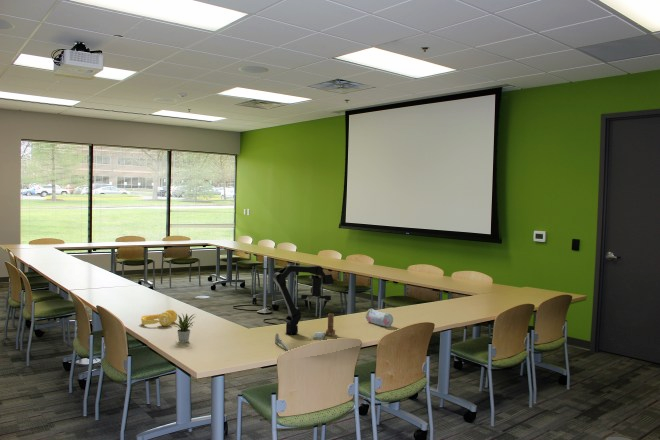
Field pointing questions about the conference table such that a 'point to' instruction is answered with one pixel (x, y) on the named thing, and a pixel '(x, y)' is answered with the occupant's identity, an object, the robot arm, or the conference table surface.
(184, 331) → the house plant
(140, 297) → the conference table surface
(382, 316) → the pencil case
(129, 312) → the conference table surface
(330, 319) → the marking gauge
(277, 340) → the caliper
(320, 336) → the board
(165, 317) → the headset
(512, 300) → the conference table surface
